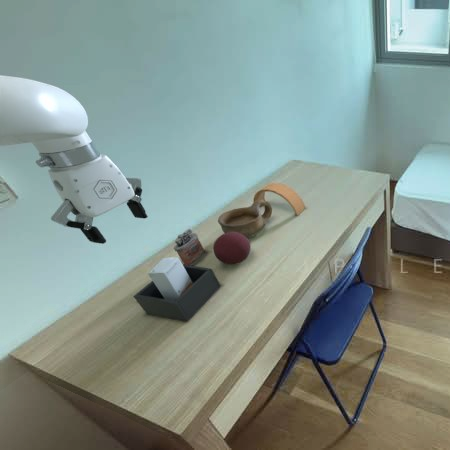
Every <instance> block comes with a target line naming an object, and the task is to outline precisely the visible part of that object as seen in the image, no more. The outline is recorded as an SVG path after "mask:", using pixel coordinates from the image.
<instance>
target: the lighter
mask: <svg viewBox="0 0 450 450" xmlns="http://www.w3.org/2000/svg"><path fill="white" fill-rule="evenodd" d="M174 243H175V246H174V247H173V249H174V251H175V252H176V253H177V255H178V258H179V259H180V261H181V263H182V264H183V265H190V266H196V265H197V264H198V263H199V262H201V260H202V259H203V258H205V256H206V254H207V251H206V250H205V249H204V247H203V245H202V243H201V241H200V239H199V236H198V234H197V233H195V232H193V229H192V228H188V229H186V230H185V231H184V232H183V233H182V234H181V233H179V234H178V235H177V238H175V239H174Z"/></svg>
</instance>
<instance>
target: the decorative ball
mask: <svg viewBox="0 0 450 450" xmlns="http://www.w3.org/2000/svg"><path fill="white" fill-rule="evenodd" d="M212 250H213V254H214V257H215V258H216V259H217V260H218V261H219V262H220V263H222V264H225V265H230V266H232V265H233V266H234V265H238V264H241V263H243V262H244V261H245V260H246V259H247V258H248V257H249V255H250V253H251V243H250V241H249V239H248V238H246V237H245V236H244V235H242V234H240V233H237V232H228V233H222V234H221V235H220V236H219V237H217V238H216V240H215V241H214V244H213V249H212Z"/></svg>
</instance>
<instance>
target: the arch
mask: <svg viewBox="0 0 450 450" xmlns="http://www.w3.org/2000/svg"><path fill="white" fill-rule="evenodd" d="M266 192H268V193H269V192H270V193H273V194H276V195H278V196H280V197H281V198H283V200H285V201H286V202H287V203H288V204H289V206H290V207H291V208H292V209H293V212H294V214H295V216H299V215H300V214H302V213H303V212H304V211H305V210H306V204H305V202H304V200H303V199H302V198H301V196H300V195H299V194H298V192H297V191H295V190H294V189H292V187H289V186H288V185H286V184H284V183H280V182H272V183H271V182H270V183H268V184H267V185H264V187H262V188H261V189H260V190H258V191H257V192H255V194H254V196H253V200H252V201H253V202H252V204H253V203H254V202H255V201H259V200H262V201H266V196H265V195H266Z"/></svg>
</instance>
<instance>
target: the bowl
mask: <svg viewBox="0 0 450 450" xmlns="http://www.w3.org/2000/svg"><path fill="white" fill-rule="evenodd" d="M261 207H264V212H263V214H262V213H261V209H260V208H261ZM272 214H273V207H272V205H271V204H270V203H269V202H267V201H266V200H265V201H262V200H259V201H255V202H254V203H253V202H252V204H251V205H250V206H248V207H247V206H245V207H238V208H233V209H231V210H228V211H225V212H223V213H221V214H220V215H219V217H218V219H217V223H218V224H219V225H220V228H221V230H222V232H223V234H225V233H228V232H237V233H240V234H242V235H244V236H245V237H246V238H247V239H248V238H250V237H254V236H255V235H257V234H259V232H261V231H262V230H263V229H264V227H265V225H266V223H267V222H268V221H269V219H270V218H271V217H272Z"/></svg>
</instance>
